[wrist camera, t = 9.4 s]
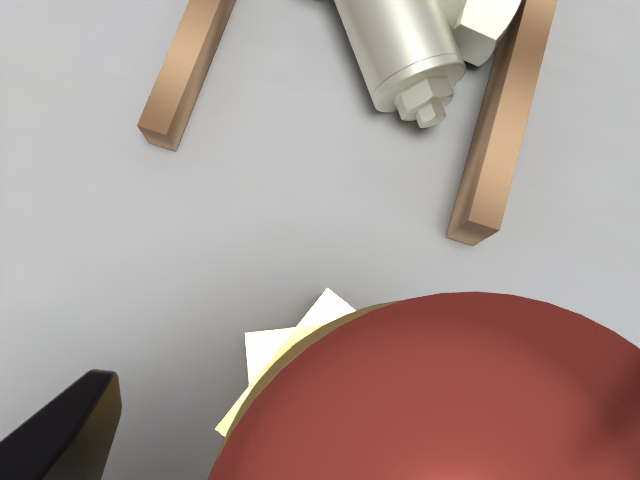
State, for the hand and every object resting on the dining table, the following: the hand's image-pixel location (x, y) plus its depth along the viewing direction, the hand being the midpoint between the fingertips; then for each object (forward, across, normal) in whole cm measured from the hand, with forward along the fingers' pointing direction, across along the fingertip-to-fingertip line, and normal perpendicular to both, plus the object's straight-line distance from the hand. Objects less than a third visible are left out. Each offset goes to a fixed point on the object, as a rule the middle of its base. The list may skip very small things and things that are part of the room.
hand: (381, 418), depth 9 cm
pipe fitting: (+16, 0, -3) cm, 16 cm away
